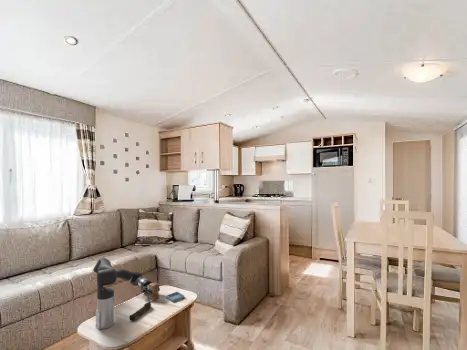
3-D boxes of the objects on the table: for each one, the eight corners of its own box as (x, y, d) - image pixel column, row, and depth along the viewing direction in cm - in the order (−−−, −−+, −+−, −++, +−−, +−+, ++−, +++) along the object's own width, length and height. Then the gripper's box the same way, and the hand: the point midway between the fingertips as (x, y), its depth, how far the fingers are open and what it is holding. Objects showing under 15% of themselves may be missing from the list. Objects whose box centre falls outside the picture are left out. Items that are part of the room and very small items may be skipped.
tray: (172, 302, 184) (172, 299, 184) (166, 298, 190) (166, 295, 191) (184, 298, 190) (184, 295, 190) (177, 294, 197) (177, 291, 197)
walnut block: (152, 301, 186) (152, 285, 186) (149, 298, 189) (149, 283, 189) (158, 298, 189) (158, 284, 189) (155, 296, 193) (155, 282, 193)
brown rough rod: (134, 322, 159) (134, 314, 159) (129, 320, 160) (129, 313, 160) (154, 308, 176) (154, 301, 176) (149, 307, 178) (149, 300, 178)
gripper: (136, 282, 195) (146, 288, 182) (153, 277, 205) (164, 283, 193) (136, 292, 195) (146, 299, 182) (153, 286, 205) (164, 293, 192)
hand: (155, 291), depth 188 cm, fingers closed on walnut block, 5 cm apart
